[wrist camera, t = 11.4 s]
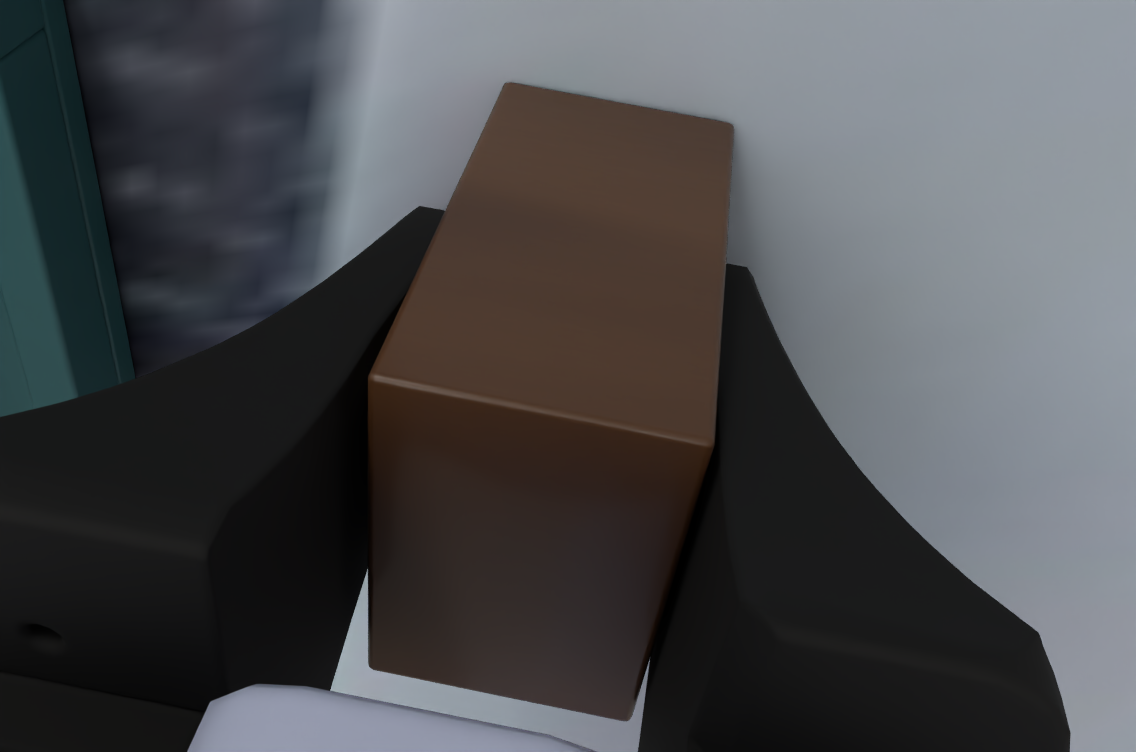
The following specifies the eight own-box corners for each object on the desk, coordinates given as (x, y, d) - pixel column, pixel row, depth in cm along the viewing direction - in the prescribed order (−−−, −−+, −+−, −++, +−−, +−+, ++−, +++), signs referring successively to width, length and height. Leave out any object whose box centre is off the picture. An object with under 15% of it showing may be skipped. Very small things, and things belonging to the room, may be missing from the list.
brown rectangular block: (670, 380, 16) (630, 725, 12) (468, 341, 16) (348, 668, 12) (735, 121, 13) (715, 444, 9) (489, 75, 13) (342, 372, 9)
